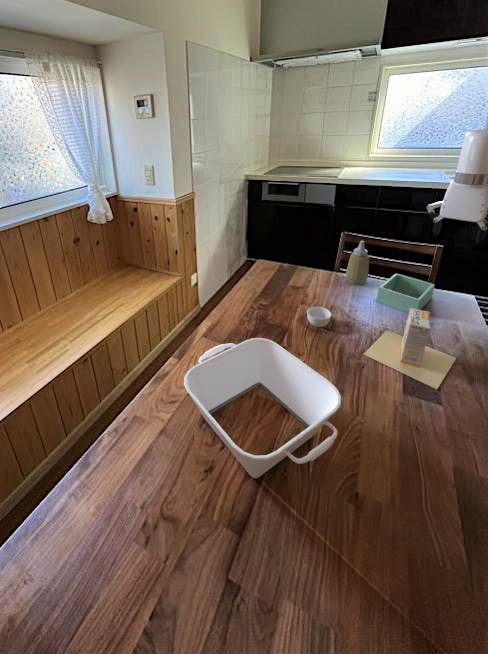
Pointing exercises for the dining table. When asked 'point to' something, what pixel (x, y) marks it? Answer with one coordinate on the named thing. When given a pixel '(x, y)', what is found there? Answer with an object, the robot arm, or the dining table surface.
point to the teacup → (318, 316)
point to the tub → (278, 380)
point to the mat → (390, 355)
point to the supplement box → (415, 337)
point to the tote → (406, 285)
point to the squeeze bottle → (358, 266)
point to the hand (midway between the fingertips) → (456, 238)
